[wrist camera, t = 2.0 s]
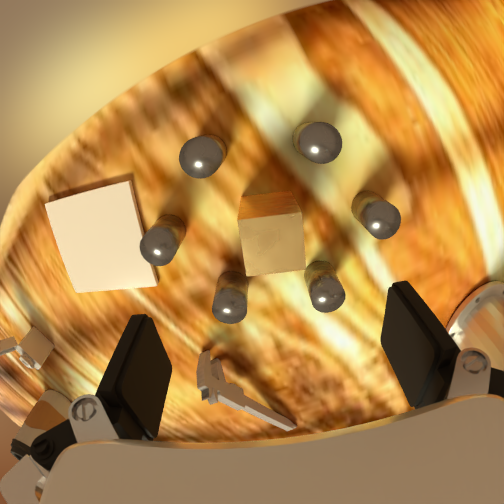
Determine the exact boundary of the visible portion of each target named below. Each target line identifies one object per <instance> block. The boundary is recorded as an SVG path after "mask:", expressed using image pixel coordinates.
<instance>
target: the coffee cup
mask: <svg viewBox="0 0 504 504" xmlns="http://www.w3.org/2000/svg"><path fill="white" fill-rule="evenodd" d="M70 405H71V402H70V401H69V400H68V399H67V398H66V397H65V396H63V395H62V394H60V393H59V392H57V391H54V390H47V391H45V392H44V393H43V395H42V396H41V398H40V399H39V401H38V402H37V403H36V404H35V406H34V407H33V409H32V410H31V412H30V413H29V415H28V417H27V418H26V420H25V421H24V424H23V425H22V427H21V429H20V430H19V432H18V434H17V435H16V437H15V438H14V439H13V441H12V444H11V446H12V449H11V453H12V454H13V455H14V456H15V457H16V458H17V459H18V460H19V461H20V460H21V459H22V458H23V457H24V456H25V455H26V454H27V455H28V456H30V455H31V453H30V448H31V444H32V442H33V441H34V439H35V438H36V437H37V436H39V435H41V434H42V433H44V432H46V431H48V430H49V429H51V428H53V427H55V426H57V425H58V424H60V423H62V422H64V421H65V420H67V419H69V416H68V410H69V407H70Z"/></svg>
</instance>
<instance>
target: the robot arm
mask: <svg viewBox="0 0 504 504" xmlns="http://www.w3.org/2000/svg"><path fill="white" fill-rule="evenodd" d="M381 345H382V347H383V349H384V351H385V353H386V355H387V357H388V359H389V361H390V364H391V366H392V368H393V370H394V372H395V374H396V376H397V378H398V380H399V383H400V385H401V387H402V389H403V391H404V393H405V396H406V398H407V400H408V402H409V404H410V406H411V407H413V406H414V407H415V410H412V411H409V412H406V413H402V414H399V415H395V416H392V417H388V418H385V419H381V420H377V421H374V422H370V423H366V424H362V425H357V426H353V427H348V428H344V429H339V430H333V431H328V432H323V433H317V434H311V435H304V436H297V437H289V438H281V439H272V440H261V441H247V442H226V443H183V442H159V441H153V438H156V437H157V435H158V431H159V426H160V421H161V417H162V412H163V408H164V403H165V399H166V395H167V390H168V386H169V382H170V378H171V374H172V365H171V362H170V360H169V358H168V355H167V353H166V351H165V348H164V346H163V344H162V341H161V339H160V337H159V334H158V332H157V329H156V327H155V324H154V322H153V320H152V318H151V317H148V316H147V315H146V314H138V315H132V316H131V318H130V320H129V322H128V324H127V326H126V328H125V330H124V332H123V334H122V336H121V338H120V340H119V343H118V345H117V347H116V349H115V351H114V353H113V355H112V358H111V360H110V362H109V364H108V366H107V369H106V371H105V373H104V375H103V378H102V380H101V382H100V385H99V387H98V389H97V392H96V394H95V396H94V395H90V394H88V395H83V396H80V397H78V398H77V399H75V400H74V401H73V402H72V403H71V405H70V407H69V410H68V416H69V419H67V420H65V421H64V422H62V423H60V424H58V425H57V426H55V427H53V428H51V429H49V430H48V431H46V432H44V433H42V434H41V435H39V436H37V437H36V438H35V439H34V441H33V442H32V444H31V448H30V453H31V455H30V456H28V455H27V454H26V455H25V456H24V457H23V458H22V459H21V460H20V461H19V462H18V463H17V464H16V465H15V466H14V467H13V468H12V469H11V470H10V471H9V472H8V473H7V474H6V475H5V476H4V477H3V478H2V480H1V482H0V491H1V493H2V495H3V497H4V499H5V500H6V502H7V503H8V504H504V283H503V282H500V281H492V282H489V283H486V284H484V285H482V286H481V287H479V288H478V289H476V290H475V291H474V292H473V293H471V294H470V295H469V296H468V297H467V298H466V299H465V300H464V301H463V302H462V304H461V305H460V306H459V307H458V309H457V310H456V311H455V313H454V315H453V316H452V318H451V319H450V321H449V323H448V325H447V328H446V329H445V328H444V326H443V325H442V324H441V322H440V321H439V320H438V319H437V317H436V316H435V315H434V313H433V312H432V311H431V309H430V308H429V307H428V306H427V304H426V303H425V302H424V301H423V299H422V298H421V297H420V296H419V294H418V293H417V292H416V291H415V290H414V288H413V287H412V286H411V285H410V283H409V282H408V281H400V282H395V283H393V284H392V287H389V289H388V295H387V302H386V309H385V315H384V321H383V327H382V333H381Z"/></svg>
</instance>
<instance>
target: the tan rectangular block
mask: <svg viewBox="0 0 504 504" xmlns="http://www.w3.org/2000/svg"><path fill="white" fill-rule="evenodd" d="M238 227H239V233H240V239H241V245H242V252H243V258H244V264H245V270H246V276H256V275H264V274H273V273H281V272H289V271H298V270H306V263H305V246H304V232H303V218H302V211H301V209H300V208H299V206H298V204H297V202H296V200H295V198H294V196H293V194H292V192H291V191H282V192H273V193H265V194H257V195H249V196H241V201H240V207H239V214H238Z"/></svg>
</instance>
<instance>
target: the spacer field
mask: <svg viewBox="0 0 504 504" xmlns="http://www.w3.org/2000/svg"><path fill="white" fill-rule="evenodd" d="M293 144H294V147H295V148H296V150H297V151H298V152H299V153H300V154H302V155H303V156H305V157H306V158H308V159H309V160H311V161H313V162H315V163H320V164H324V163H329V162H331V161H333V160H334V159H336V158H337V156H338V155H339V153H340V151H341V148H342V139H341V136H340V133H339V132H338V130H337V129H336V128H335V127H333V126H332V125H330V124H328V123H324V122H307V123H303V124H301V125H300V126H298V127H297V128H296V130H295V132H294V134H293ZM226 152H227V151H226V146H225V144H224V142H223V141H222V140H221V139H220V138H219V137H217V136H215V135H203V136H199V137H195V138H192V139H190V140H188V141H187V142H186V143H185V144H184V145H183V147H182V148H181V151H180V154H179V161H180V165H181V167H182V169H183V170H184V172H185V173H187V174H188V175H189V176H191V177H194V178H206V177H209V176H211V175H212V174H214V173H215V172H216V170H217V169H218V168H219V167H220V165H221V164H222V163H223V161H224V160H225V158H226ZM351 208H352V213H353V215H354V217H355V218H356V219H357V220H358V221H359V222H360V223H361V224H362V225H363V226H364V227H365V228H366V229H367V230H368V231H369V232H370V233H371V234H372V236H374V237H375V238H377V239H387V238H390V237H391V236H393V235H394V234H395V233H396V232H397V230H398V229H399V226H400V223H401V216H400V213H399V211H398V209H397V208H396V207H395V206H393V205H392V204H390V203H389V202H387V201H386V200H385V199H383V198H382V197H380V196H378V195H377V194H375V193H374V192H372V191H363V192H360V193H359V194H358V195H356V197H355V198H354V200H353V202H352V207H351ZM185 234H186V228H185V225H184V223H183V222H182V220H181V219H180V218H178V217H176V216H174V215H164V216H162V217H160V218H159V219H158V220H157V222H156V223H155V224H154V225H153V226H152V227H151V228H150V229H149V230H148V232H147V233H146V234H145V235H144V236H143V237H142V239H141V241H140V246H139V247H140V252H141V255H142V256H143V258H144V259H145V260H146V261H147V262H148V263H150V264H152V265H155V266H164V265H166V264H168V263H170V262H171V260H172V259H173V257H174V255H175V254H176V252H177V250H178V248H179V246H180V244H181V243H182V241H183V239H184V237H185ZM304 278H305V281H306V285H307V288H308V291H309V295H310V298H311V301H312V305H313V307H314V308H315V309H316V310H318V311H320V312H324V313H327V312H332V311H335V310H336V309H338V308H339V307H340V306H341V305H342V304H343V302H344V300H345V291H344V289H343V287H342V285H341V283H340V281H339V279H338V277H337V275H336V273H335V271H334V269H333V267H332V265H331V264H330V263H328V262H326V261H315V262H313V263H311V264H310V265H309V266H308V267H307V268H306V270H305V273H304ZM247 293H248V282H247V280H246V278H245V277H244V276H243V275H242V274H241V273H239V272H235V271H229V272H225V273H223V274H222V275H221V276H220V277H219V279H218V282H217V286H216V291H215V296H214V301H213V306H212V312H213V314H214V316H215V317H216V318H217V319H218V320H219V321H221V322H223V323H227V324H234V323H238V322H240V321H241V320H243V319H244V318H245V316H246V314H247Z"/></svg>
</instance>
